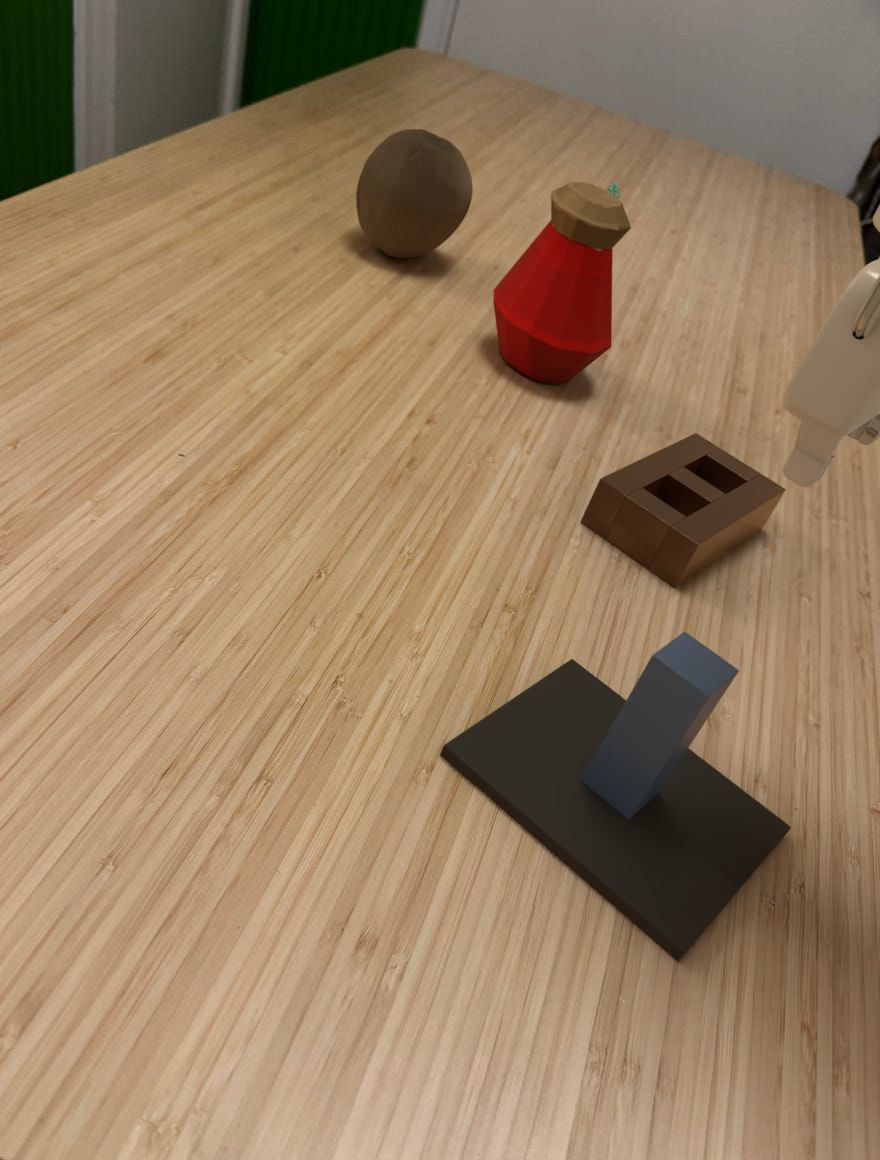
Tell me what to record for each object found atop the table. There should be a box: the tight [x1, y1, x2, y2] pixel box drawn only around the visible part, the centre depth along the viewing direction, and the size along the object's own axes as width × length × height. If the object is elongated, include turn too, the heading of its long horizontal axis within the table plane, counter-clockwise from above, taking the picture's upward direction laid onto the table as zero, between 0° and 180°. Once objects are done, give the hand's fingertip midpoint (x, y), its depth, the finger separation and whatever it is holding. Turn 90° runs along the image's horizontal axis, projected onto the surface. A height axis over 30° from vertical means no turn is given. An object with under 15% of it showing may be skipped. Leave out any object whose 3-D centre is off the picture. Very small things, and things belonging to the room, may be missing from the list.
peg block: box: [580, 432, 787, 588], centre depth 101 cm, size 11×19×5 cm, turn 137°
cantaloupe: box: [355, 128, 474, 259], centre depth 132 cm, size 14×14×15 cm
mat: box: [439, 658, 792, 962], centre depth 72 cm, size 20×16×1 cm
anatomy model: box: [583, 179, 622, 200], centre depth 174 cm, size 5×8×7 cm
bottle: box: [492, 181, 632, 387], centre depth 116 cm, size 16×14×20 cm
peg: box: [581, 631, 740, 820], centre depth 68 cm, size 4×4×12 cm
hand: (831, 457), depth 60 cm, fingers open, 8 cm apart
